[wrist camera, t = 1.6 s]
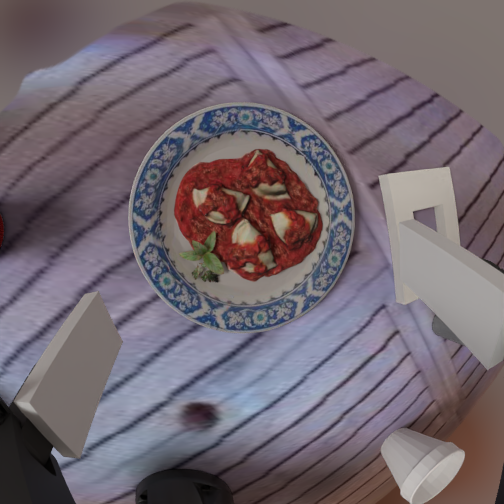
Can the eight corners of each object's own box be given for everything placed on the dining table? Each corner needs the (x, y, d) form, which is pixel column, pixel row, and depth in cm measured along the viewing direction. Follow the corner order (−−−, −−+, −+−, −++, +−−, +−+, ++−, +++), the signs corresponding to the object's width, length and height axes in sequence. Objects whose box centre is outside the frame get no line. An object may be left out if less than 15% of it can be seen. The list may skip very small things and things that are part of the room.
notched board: (453, 275, 44) (462, 277, 42) (396, 302, 41) (404, 305, 39) (440, 168, 42) (449, 166, 40) (378, 176, 38) (387, 174, 37)
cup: (416, 447, 47) (457, 479, 33) (367, 475, 44) (405, 516, 31) (422, 404, 45) (471, 436, 32) (368, 434, 42) (416, 478, 29)
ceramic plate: (288, 82, 35) (297, 73, 32) (373, 260, 39) (386, 262, 37) (94, 169, 30) (87, 164, 27) (202, 365, 35) (205, 376, 32)
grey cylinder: (437, 339, 44) (481, 357, 34) (428, 324, 43) (474, 341, 33) (451, 319, 45) (495, 333, 35) (442, 303, 44) (489, 316, 34)
